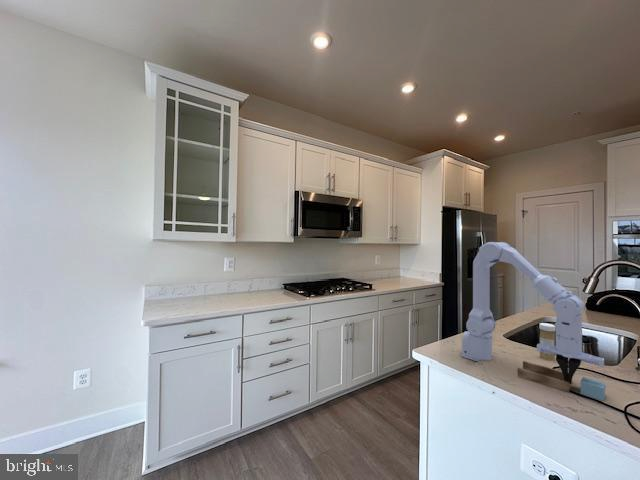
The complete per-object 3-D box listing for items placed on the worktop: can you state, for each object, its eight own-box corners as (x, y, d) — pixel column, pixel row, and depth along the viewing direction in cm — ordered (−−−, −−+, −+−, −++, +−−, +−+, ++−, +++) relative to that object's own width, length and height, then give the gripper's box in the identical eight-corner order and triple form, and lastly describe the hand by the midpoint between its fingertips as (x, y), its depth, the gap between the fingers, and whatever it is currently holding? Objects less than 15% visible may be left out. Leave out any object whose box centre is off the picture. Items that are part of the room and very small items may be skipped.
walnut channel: (517, 379, 85) (517, 368, 85) (523, 371, 91) (523, 360, 91) (568, 395, 77) (568, 383, 77) (571, 385, 82) (572, 373, 82)
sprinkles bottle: (557, 361, 99) (557, 324, 99) (552, 364, 96) (552, 327, 96) (541, 356, 103) (541, 321, 103) (537, 359, 100) (537, 323, 100)
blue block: (580, 381, 76) (603, 388, 73) (582, 376, 79) (605, 383, 75) (580, 397, 76) (603, 405, 73) (582, 391, 79) (605, 399, 75)
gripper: (535, 333, 82) (534, 377, 82) (603, 347, 72) (603, 398, 72) (539, 328, 87) (538, 370, 87) (604, 340, 77) (603, 388, 76)
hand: (568, 382), depth 80 cm, fingers closed
